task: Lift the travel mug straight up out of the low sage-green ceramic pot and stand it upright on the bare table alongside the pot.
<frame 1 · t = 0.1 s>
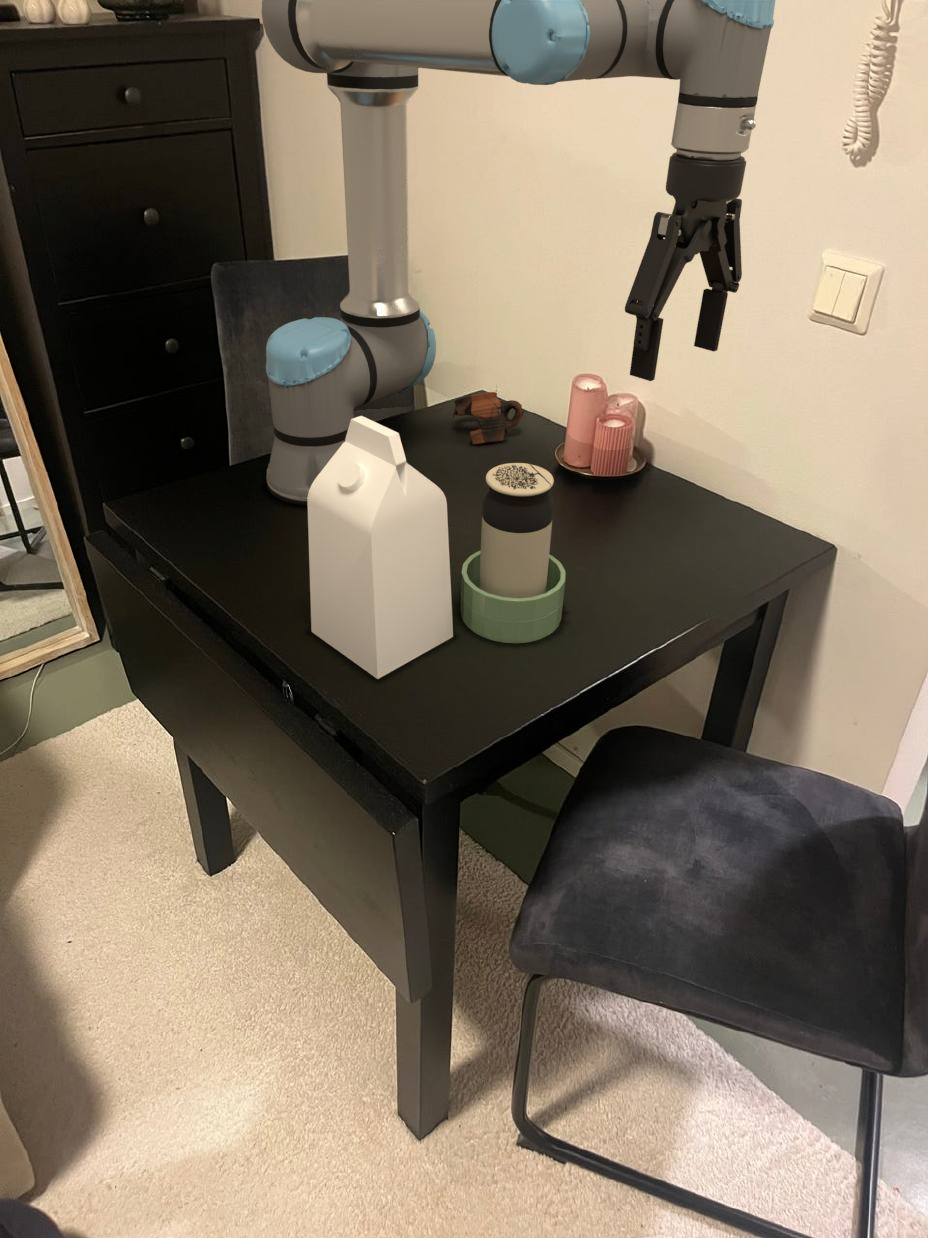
hand: (674, 362, 102), 28 cm above the table, tool pointing down, fingers open, 13 cm apart
milk: (382, 635, 106), on the table
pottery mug: (487, 434, 153), on the table
travel mug: (511, 612, 110), resting on pot
pot: (511, 613, 110), on the table
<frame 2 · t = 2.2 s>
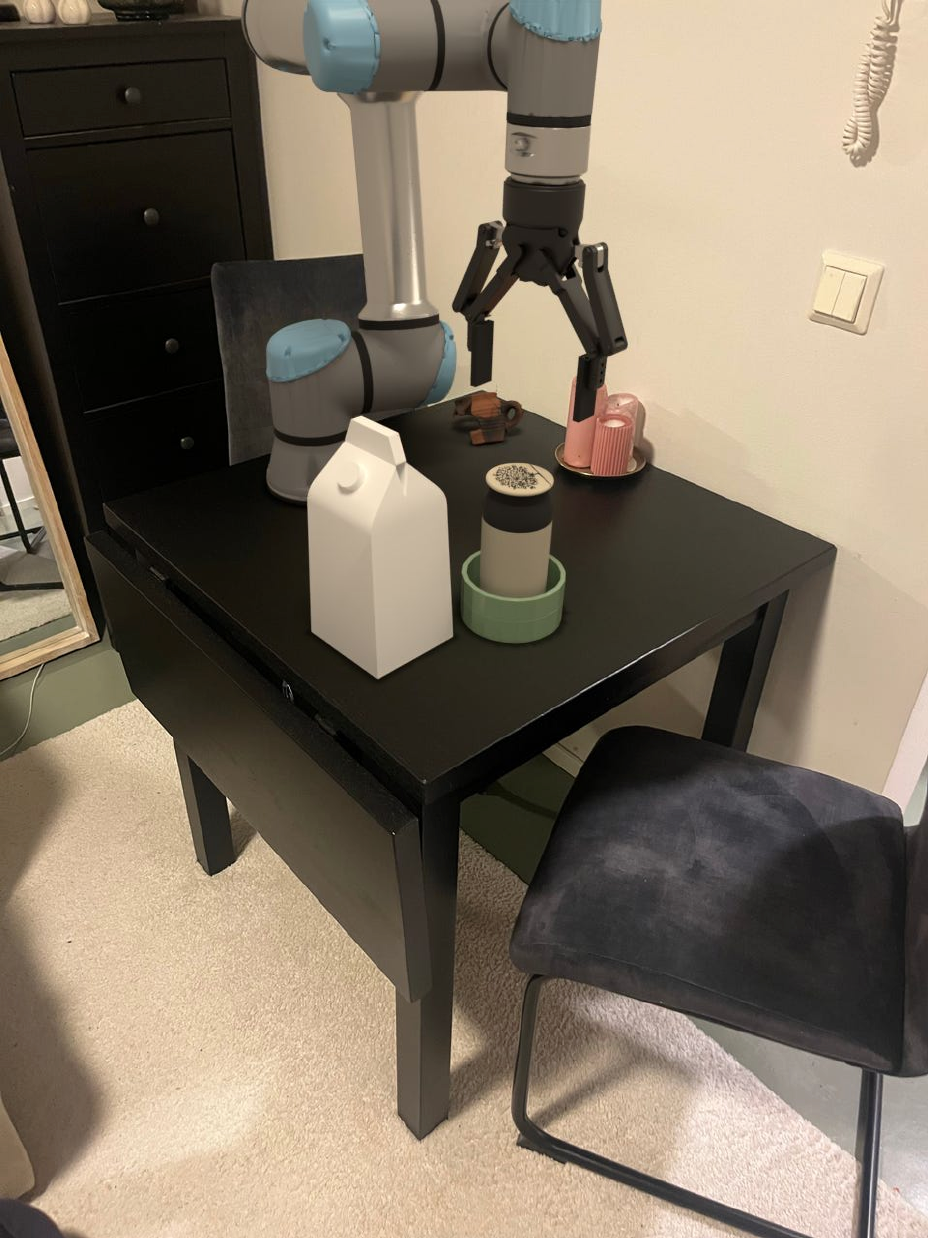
hand: (530, 400, 94), 27 cm above the table, tool pointing down, fingers open, 13 cm apart
nothing on the table moved.
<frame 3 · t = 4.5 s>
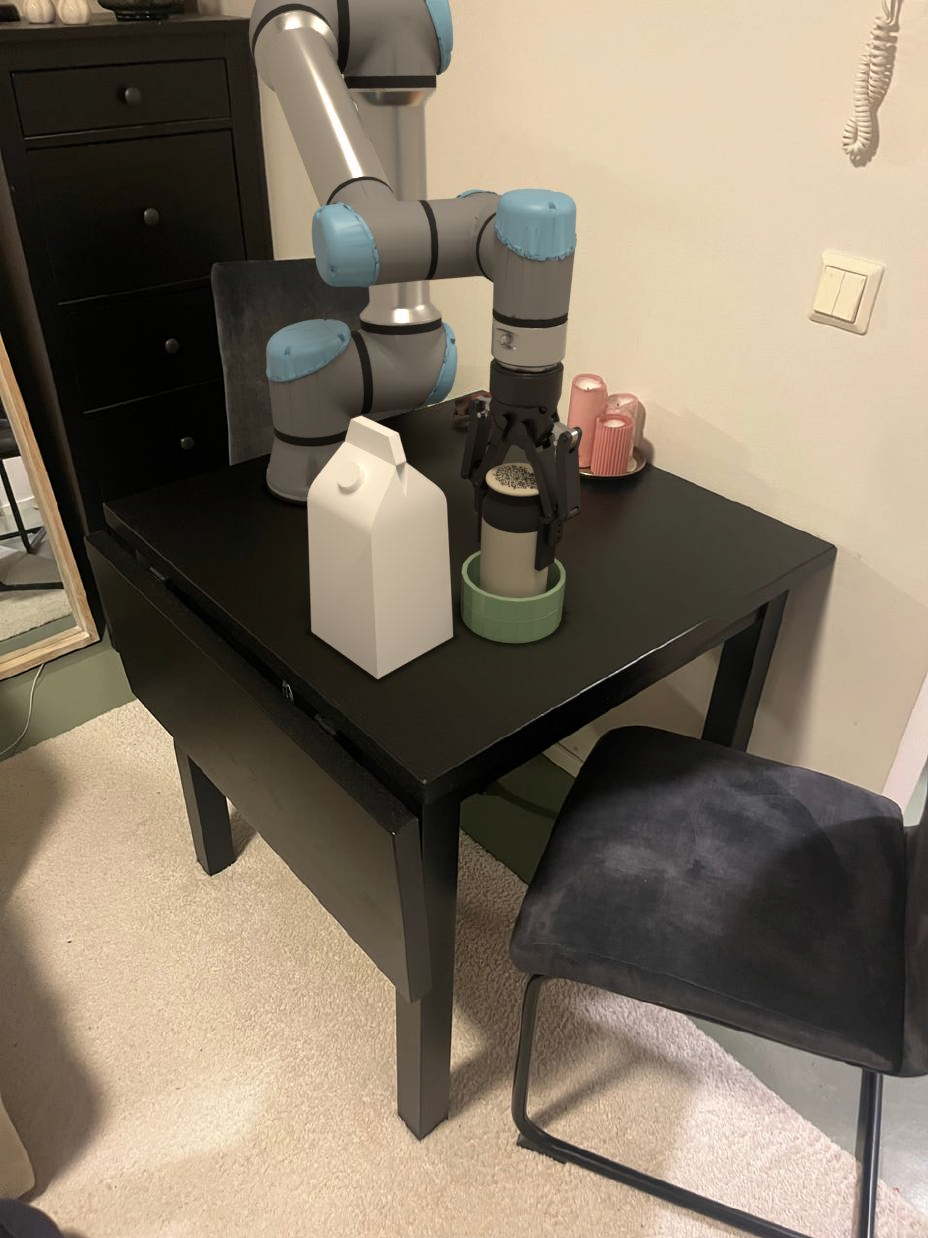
hand: (514, 551, 105), 9 cm above the table, tool pointing down, fingers closed on travel mug, 8 cm apart
travel mug: (511, 612, 110), resting on pot, touching gripper
everything else where it was.
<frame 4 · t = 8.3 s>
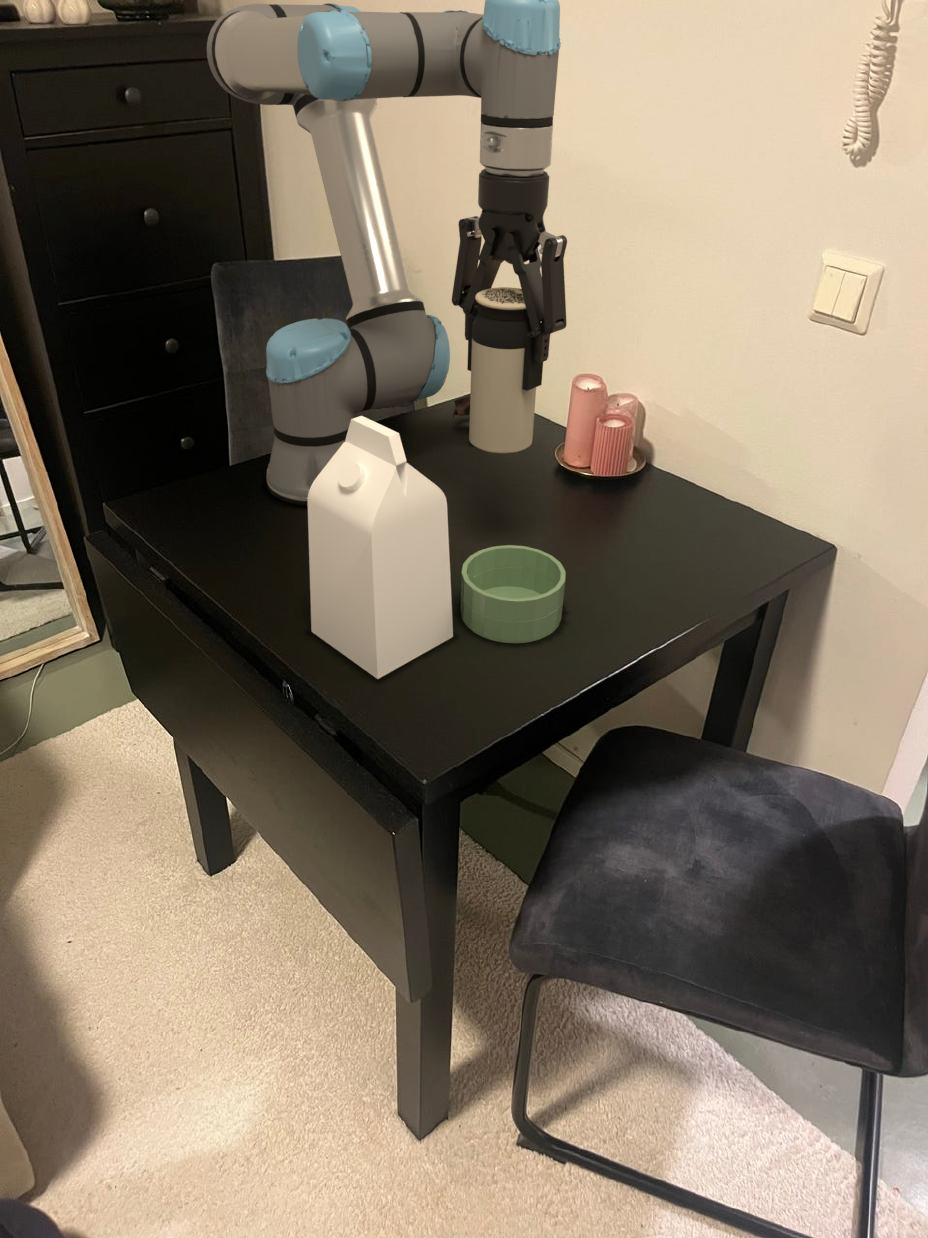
hand: (503, 377, 109), 24 cm above the table, tool pointing down, fingers closed on travel mug, 8 cm apart
travel mug: (500, 443, 114), point 15 cm above the table, touching gripper
everything else where it was.
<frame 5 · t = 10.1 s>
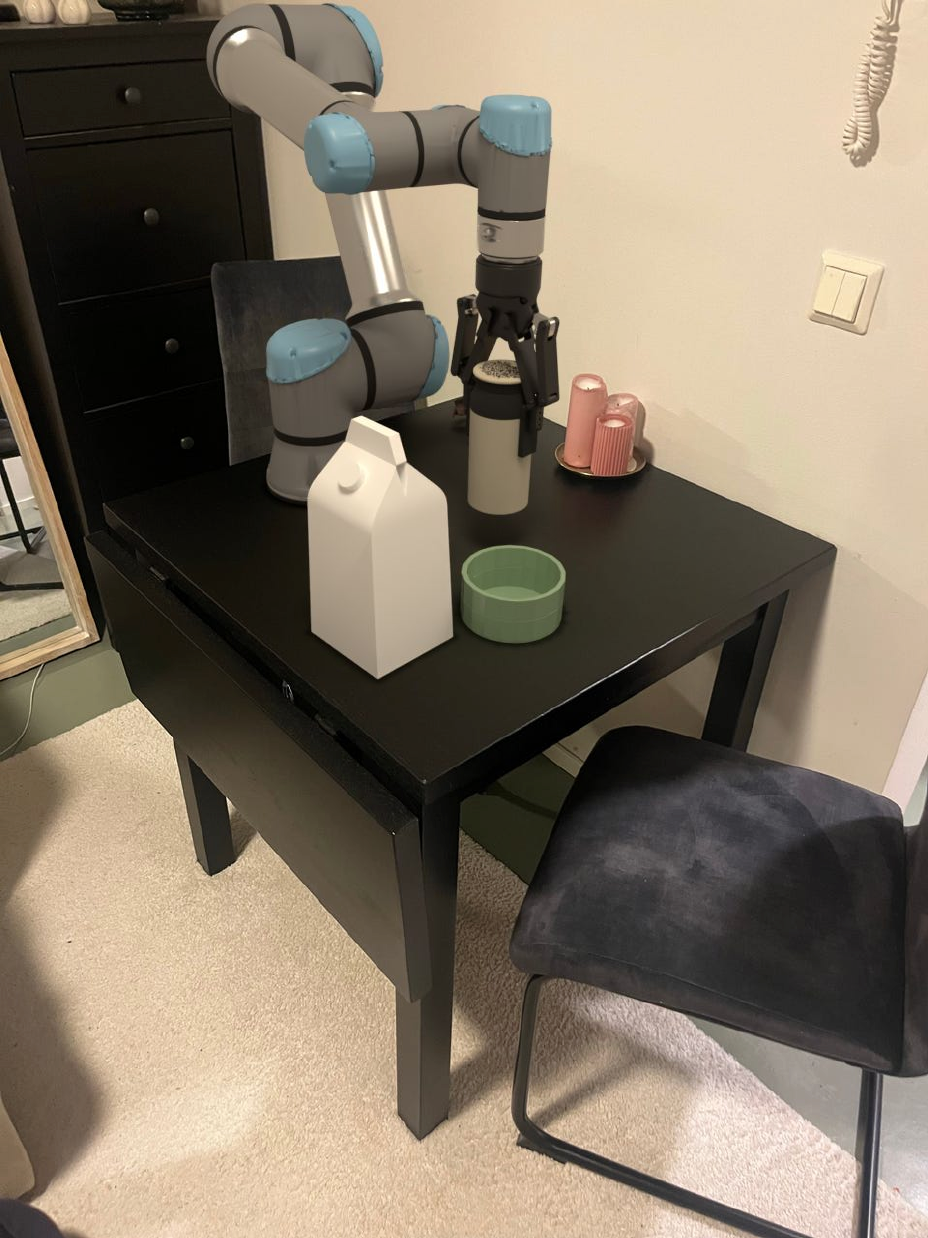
hand: (500, 443, 114), 15 cm above the table, tool pointing down, fingers closed on travel mug, 8 cm apart
travel mug: (497, 503, 119), point 6 cm above the table, touching gripper
everything else where it was.
when the fingers open (8 cm above the table, at t = 12.0 s): travel mug stays where it is, on the table.
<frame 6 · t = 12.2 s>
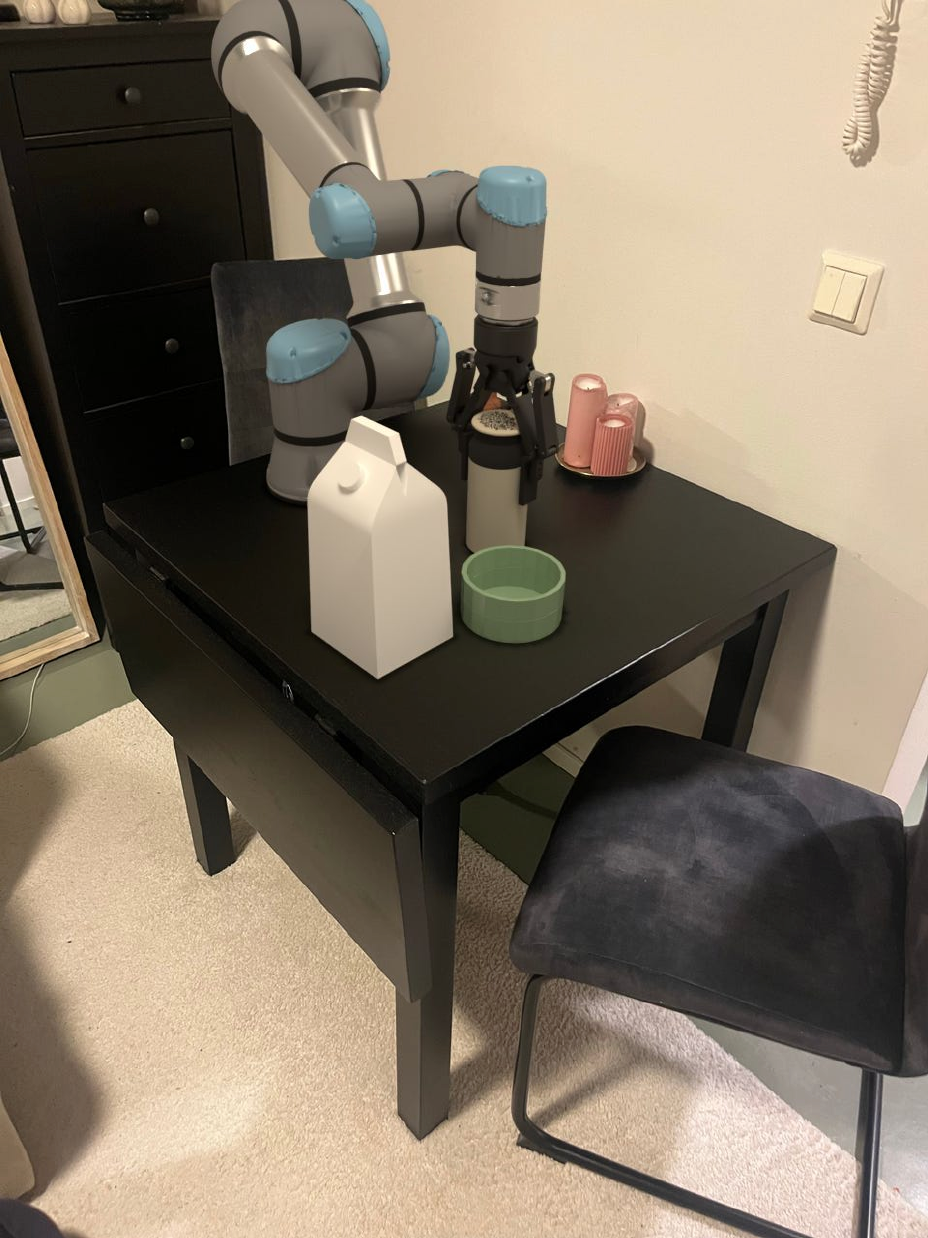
hand: (497, 488, 118), 9 cm above the table, tool pointing down, fingers open, 9 cm apart
travel mug: (495, 546, 123), on the table
everything else where it was.
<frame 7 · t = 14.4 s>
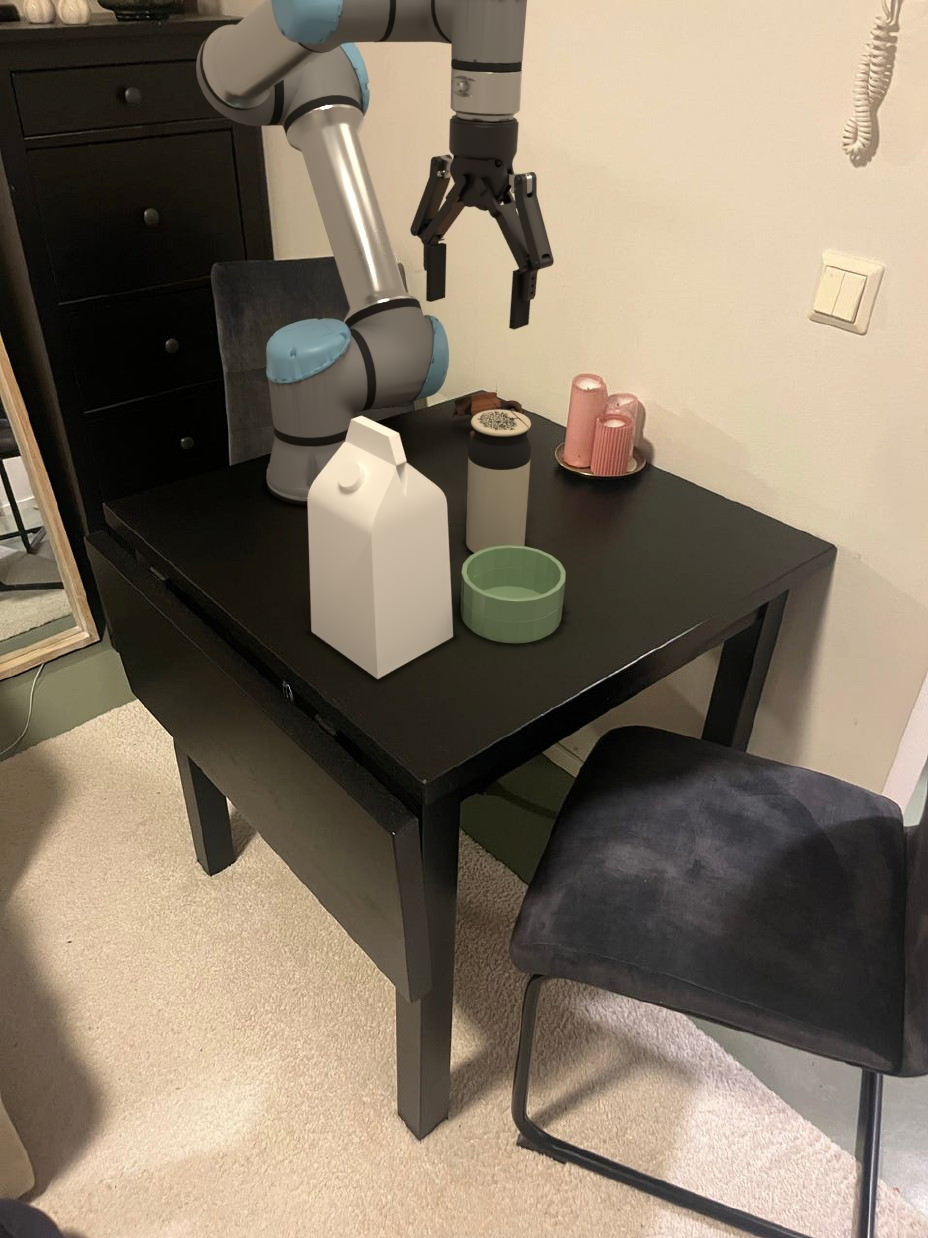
hand: (475, 312, 110), 30 cm above the table, tool pointing down, fingers open, 13 cm apart
nothing on the table moved.
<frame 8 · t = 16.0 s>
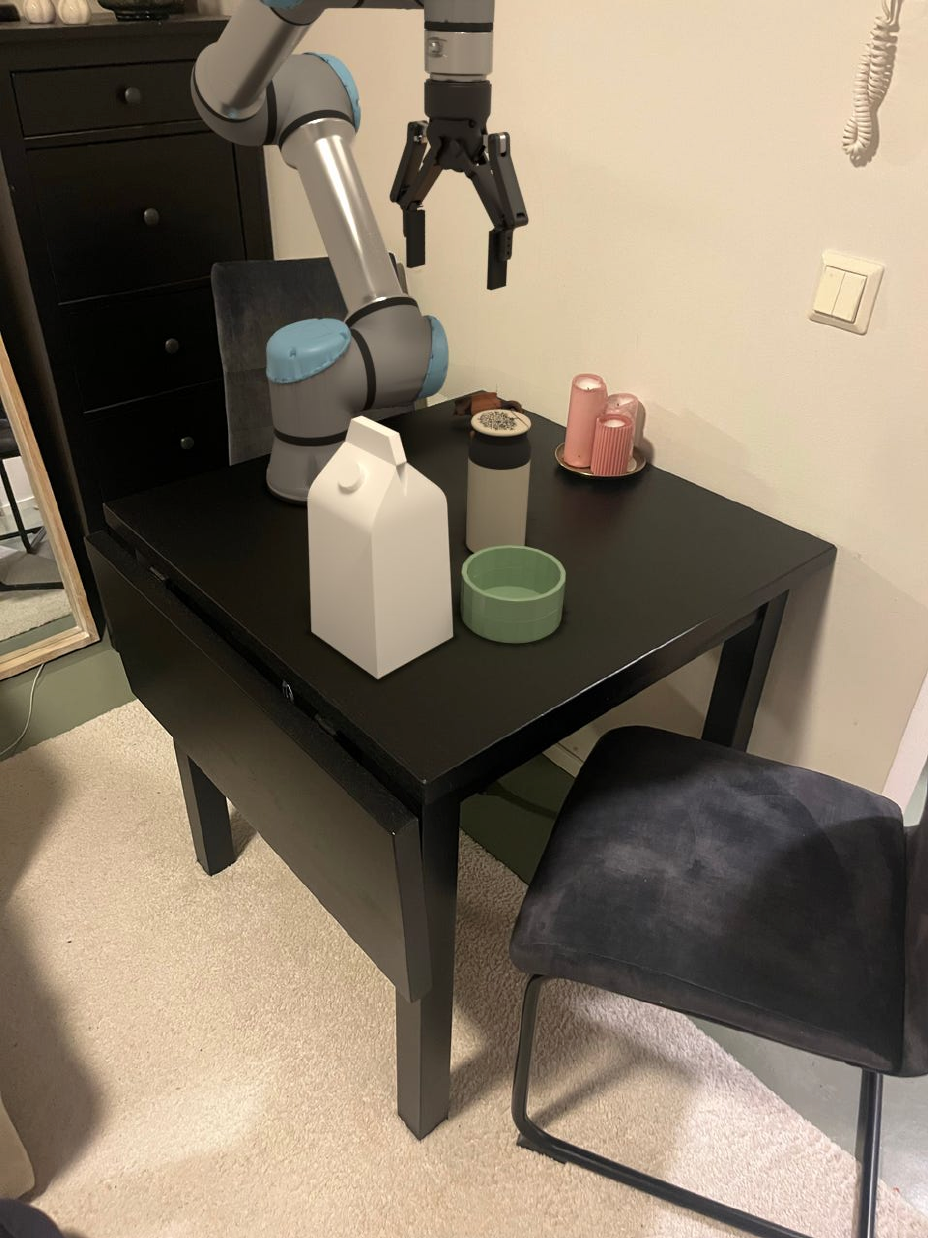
hand: (454, 276, 112), 33 cm above the table, tool pointing down, fingers open, 13 cm apart
nothing on the table moved.
at the end: travel mug inside the target area (0.1 cm from its centre), on the table; travel mug tilted 0°; the gripper is holding nothing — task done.
